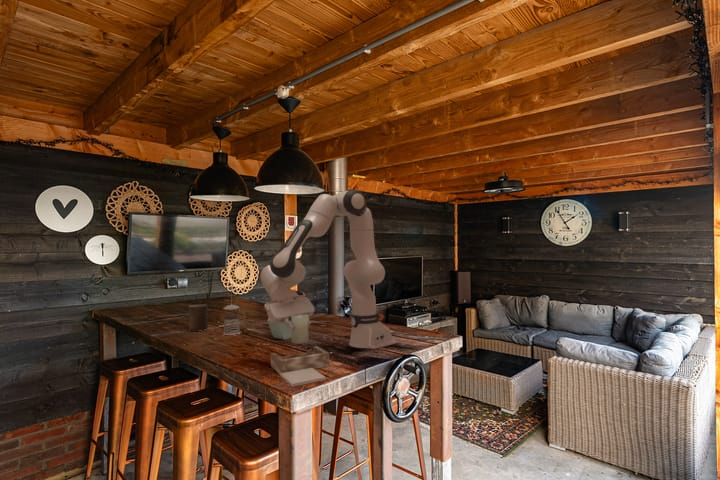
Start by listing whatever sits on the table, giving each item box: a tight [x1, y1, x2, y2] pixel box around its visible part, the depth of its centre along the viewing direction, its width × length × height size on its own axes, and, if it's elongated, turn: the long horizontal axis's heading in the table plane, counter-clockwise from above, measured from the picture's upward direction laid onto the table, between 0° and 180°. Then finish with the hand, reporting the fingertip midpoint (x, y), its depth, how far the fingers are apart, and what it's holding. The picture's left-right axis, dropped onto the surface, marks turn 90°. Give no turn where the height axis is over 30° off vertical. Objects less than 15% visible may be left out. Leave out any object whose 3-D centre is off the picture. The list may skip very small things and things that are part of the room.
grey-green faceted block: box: [267, 317, 292, 341], centre depth 197 cm, size 17×8×21 cm
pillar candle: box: [188, 303, 208, 331], centre depth 214 cm, size 10×10×15 cm
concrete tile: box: [280, 368, 326, 388], centre depth 135 cm, size 12×12×1 cm
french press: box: [222, 286, 246, 336], centre depth 205 cm, size 10×12×25 cm
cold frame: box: [270, 345, 330, 376], centre depth 148 cm, size 19×12×5 cm, turn 120°
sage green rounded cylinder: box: [291, 314, 309, 345], centre depth 149 cm, size 6×6×10 cm
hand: (300, 327), depth 148 cm, fingers closed on sage green rounded cylinder, 6 cm apart
